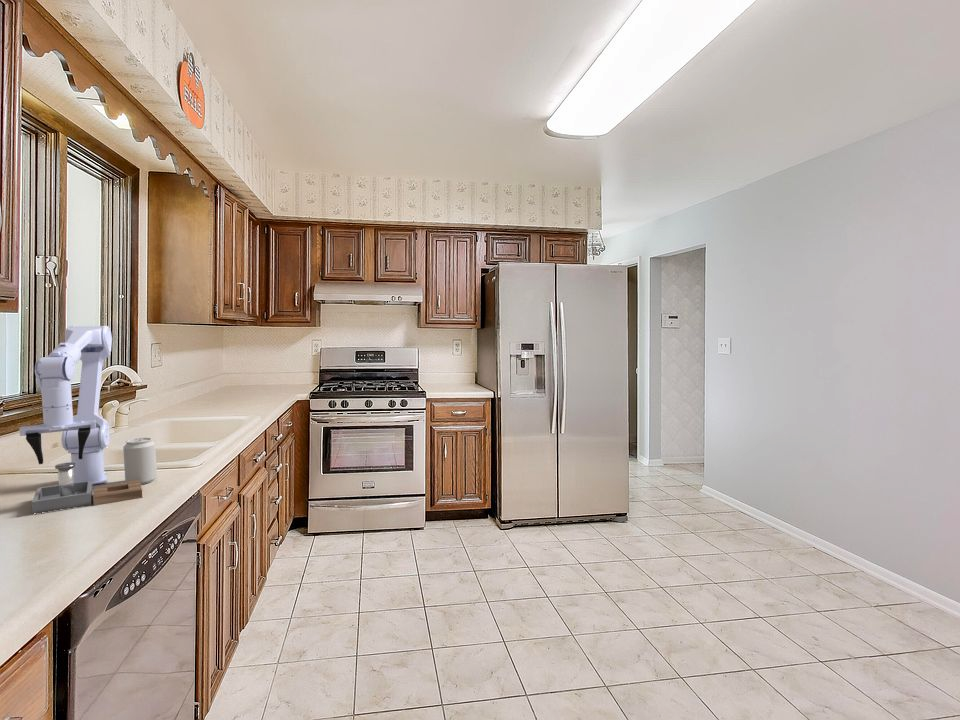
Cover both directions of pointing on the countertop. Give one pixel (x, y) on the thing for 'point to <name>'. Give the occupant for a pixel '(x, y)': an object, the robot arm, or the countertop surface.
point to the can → (140, 460)
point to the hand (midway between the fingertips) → (61, 460)
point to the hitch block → (117, 492)
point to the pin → (66, 478)
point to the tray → (61, 498)
